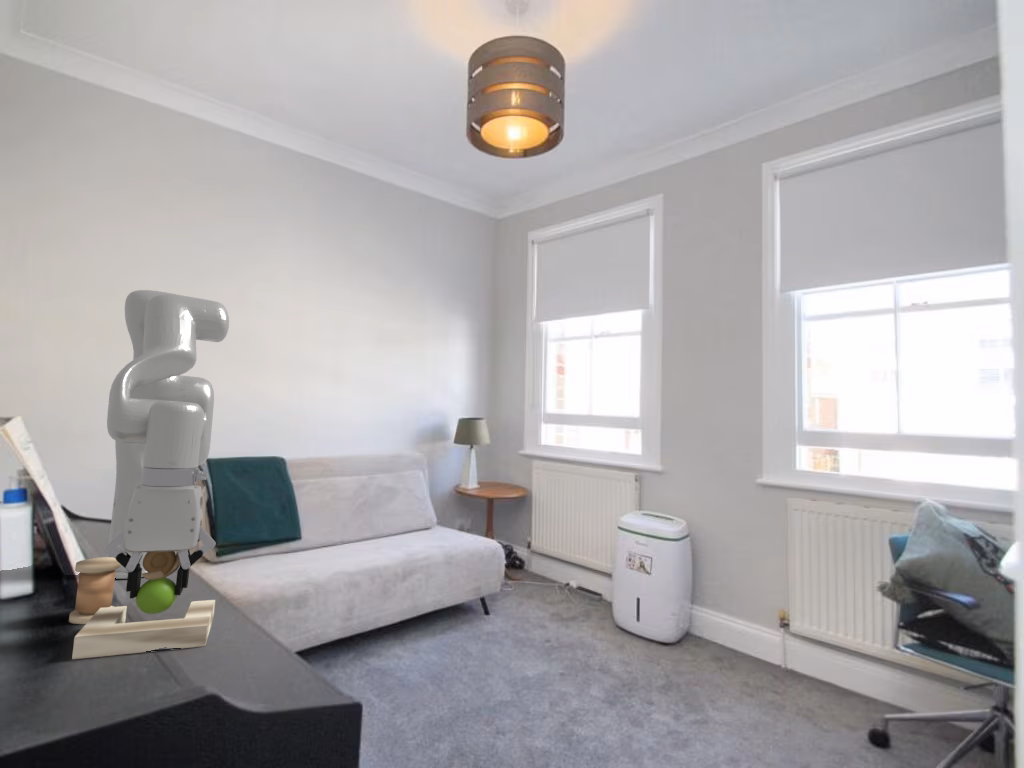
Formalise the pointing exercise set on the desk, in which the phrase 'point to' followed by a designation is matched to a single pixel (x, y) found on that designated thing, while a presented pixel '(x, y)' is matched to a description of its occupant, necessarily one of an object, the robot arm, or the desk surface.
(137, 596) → the snail figurine
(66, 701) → the desk surface
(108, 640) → the notched board
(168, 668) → the desk surface
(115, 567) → the bobbin
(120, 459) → the robot arm
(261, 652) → the desk surface
